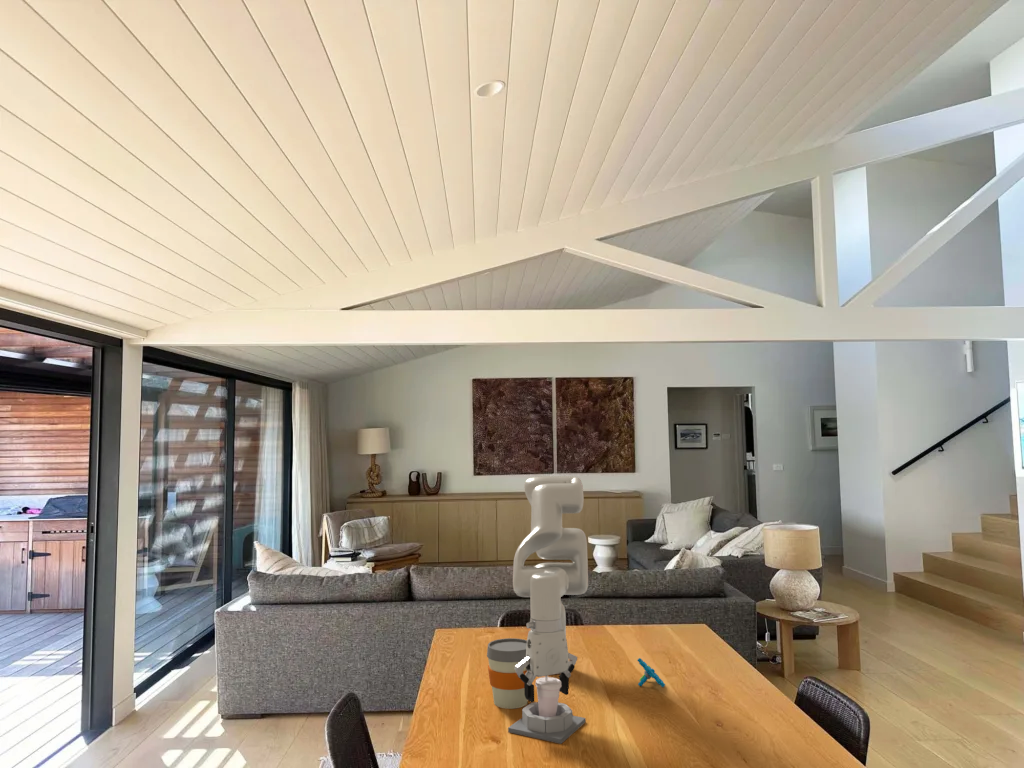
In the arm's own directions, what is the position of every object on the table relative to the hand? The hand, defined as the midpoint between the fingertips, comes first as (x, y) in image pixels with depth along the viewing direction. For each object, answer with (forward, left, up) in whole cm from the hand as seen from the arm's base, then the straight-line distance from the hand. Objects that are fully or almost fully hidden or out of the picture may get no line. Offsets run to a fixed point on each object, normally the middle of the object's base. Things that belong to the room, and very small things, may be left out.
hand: (547, 696), depth 171 cm
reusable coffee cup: (-16, +10, -7) cm, 20 cm away
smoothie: (0, 0, -6) cm, 6 cm away
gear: (+13, +40, -7) cm, 42 cm away
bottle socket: (0, 0, -7) cm, 7 cm away
